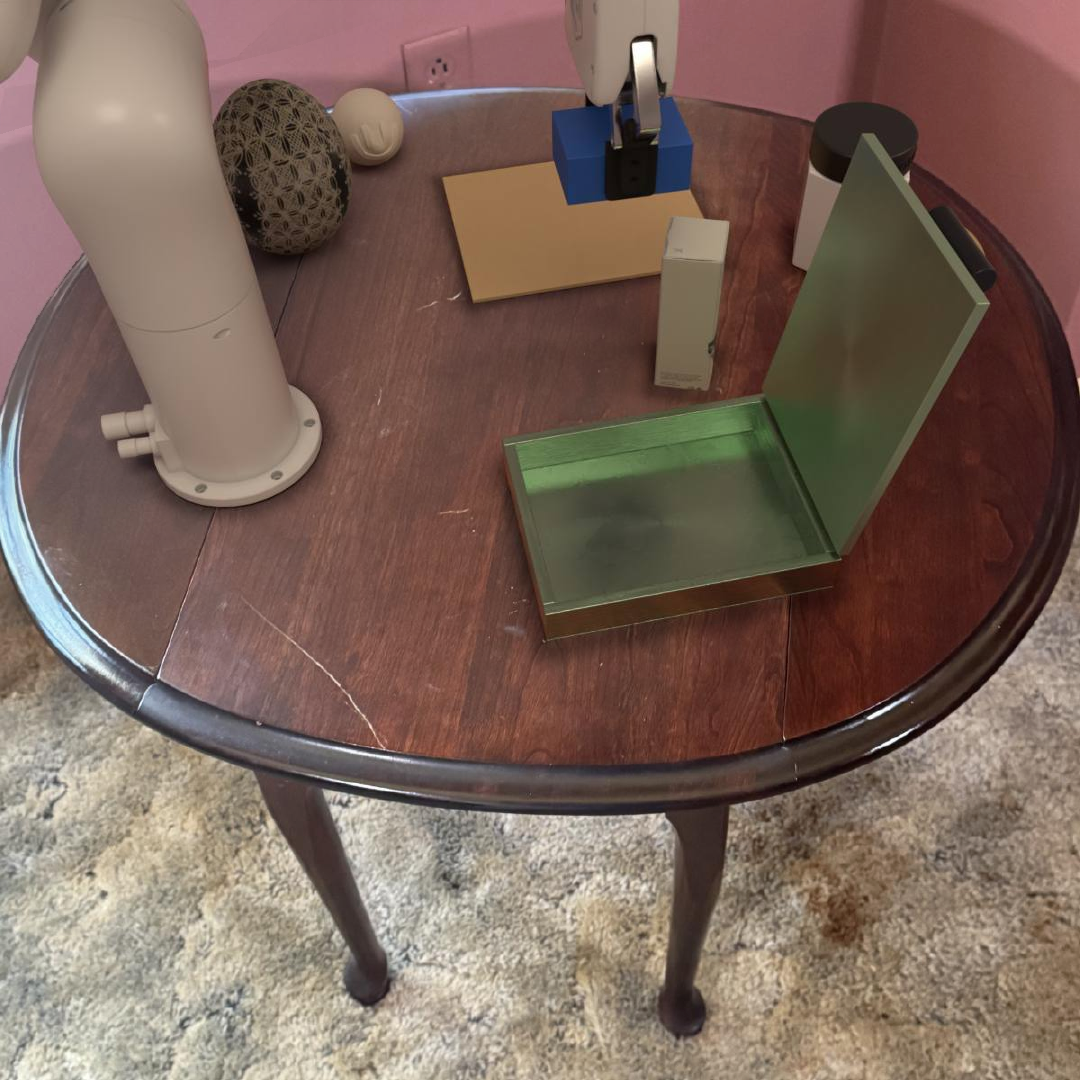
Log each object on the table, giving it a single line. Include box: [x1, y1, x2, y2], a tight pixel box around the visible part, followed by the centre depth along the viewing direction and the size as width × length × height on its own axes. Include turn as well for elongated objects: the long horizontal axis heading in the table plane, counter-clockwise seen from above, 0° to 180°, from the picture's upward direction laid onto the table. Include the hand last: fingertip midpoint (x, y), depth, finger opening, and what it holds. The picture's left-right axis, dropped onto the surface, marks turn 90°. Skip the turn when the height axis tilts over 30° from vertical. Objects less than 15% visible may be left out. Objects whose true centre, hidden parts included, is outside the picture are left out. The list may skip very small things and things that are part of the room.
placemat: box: [441, 160, 705, 304], centre depth 100 cm, size 22×18×1 cm
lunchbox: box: [501, 392, 842, 642], centre depth 77 cm, size 20×16×4 cm
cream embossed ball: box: [330, 87, 405, 167], centre depth 105 cm, size 7×7×7 cm
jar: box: [791, 101, 920, 272], centre depth 92 cm, size 9×8×12 cm
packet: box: [551, 95, 694, 205], centre depth 71 cm, size 8×6×3 cm
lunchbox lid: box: [761, 133, 998, 556], centre depth 69 cm, size 20×16×5 cm
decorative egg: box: [212, 78, 353, 256], centre depth 94 cm, size 12×12×15 cm
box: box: [653, 216, 730, 391], centre depth 83 cm, size 5×4×13 cm
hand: (619, 165), depth 72 cm, fingers closed on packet, 5 cm apart
